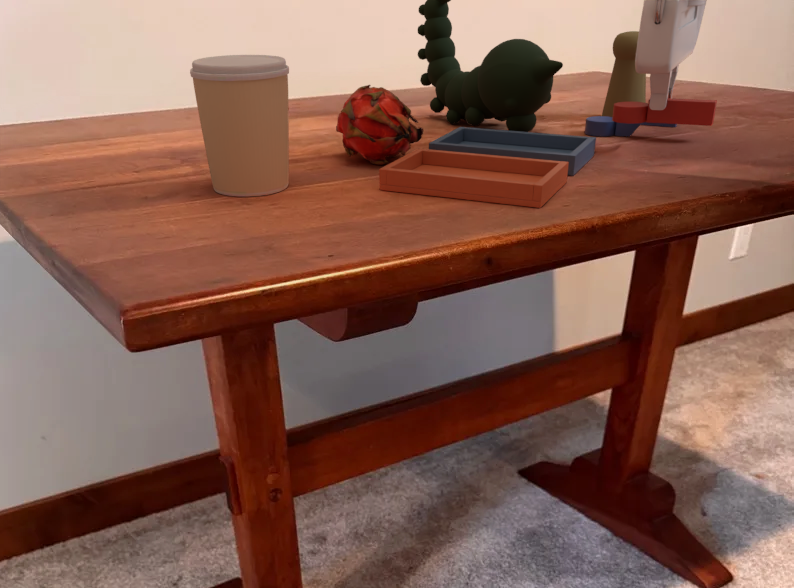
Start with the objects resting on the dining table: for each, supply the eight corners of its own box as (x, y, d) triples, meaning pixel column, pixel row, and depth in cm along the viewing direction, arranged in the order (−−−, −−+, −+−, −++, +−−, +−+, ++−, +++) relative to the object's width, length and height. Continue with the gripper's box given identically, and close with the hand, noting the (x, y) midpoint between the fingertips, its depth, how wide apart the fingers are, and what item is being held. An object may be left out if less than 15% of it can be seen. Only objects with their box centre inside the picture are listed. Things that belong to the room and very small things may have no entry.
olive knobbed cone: (623, 123, 109) (635, 34, 103) (592, 116, 113) (601, 31, 108) (654, 118, 111) (667, 32, 106) (622, 112, 116) (633, 28, 110)
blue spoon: (676, 136, 101) (679, 115, 100) (671, 142, 98) (675, 121, 97) (588, 129, 106) (590, 109, 104) (581, 135, 102) (583, 114, 101)
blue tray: (594, 155, 92) (596, 137, 91) (573, 175, 84) (575, 155, 83) (459, 144, 98) (459, 126, 97) (428, 162, 90) (428, 142, 89)
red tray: (566, 182, 82) (568, 161, 81) (540, 208, 74) (542, 185, 73) (418, 167, 88) (418, 148, 87) (379, 190, 80) (379, 168, 79)
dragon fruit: (356, 160, 98) (407, 197, 90) (305, 125, 92) (355, 161, 84) (395, 99, 96) (450, 131, 88) (346, 59, 90) (401, 89, 82)
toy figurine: (406, 130, 114) (533, 142, 96) (398, -19, 106) (535, -37, 88) (456, 122, 119) (585, 132, 101) (452, -22, 111) (593, -39, 92)
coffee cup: (308, 177, 85) (301, 55, 79) (278, 201, 77) (267, 67, 71) (226, 173, 87) (213, 53, 81) (189, 196, 79) (171, 65, 73)
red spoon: (714, 121, 92) (718, 98, 91) (710, 127, 89) (714, 104, 87) (616, 116, 96) (618, 94, 95) (608, 122, 93) (611, 99, 92)
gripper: (697, -28, 76) (675, 124, 82) (719, -33, 92) (699, 95, 98) (629, -27, 78) (613, 121, 85) (662, -32, 94) (647, 93, 101)
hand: (660, 107), depth 92 cm, fingers closed on red spoon, 1 cm apart
